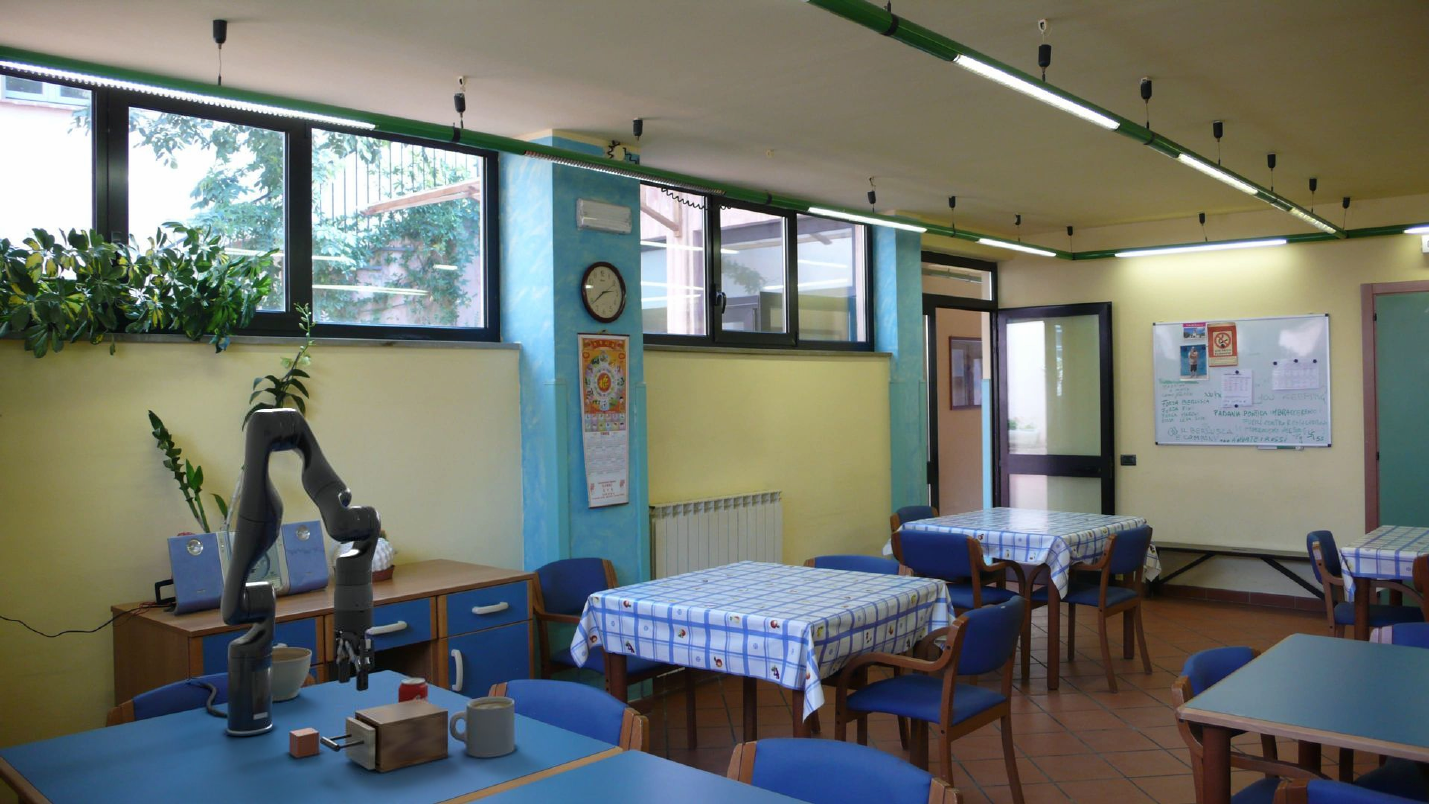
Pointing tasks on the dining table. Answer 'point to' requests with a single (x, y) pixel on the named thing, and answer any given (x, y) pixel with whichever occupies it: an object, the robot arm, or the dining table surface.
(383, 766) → the cabinet
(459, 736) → the coffee mug
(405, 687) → the beverage can
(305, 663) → the planter bowl
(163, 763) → the dining table surface
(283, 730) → the dining table surface
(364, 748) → the drawer
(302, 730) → the block
